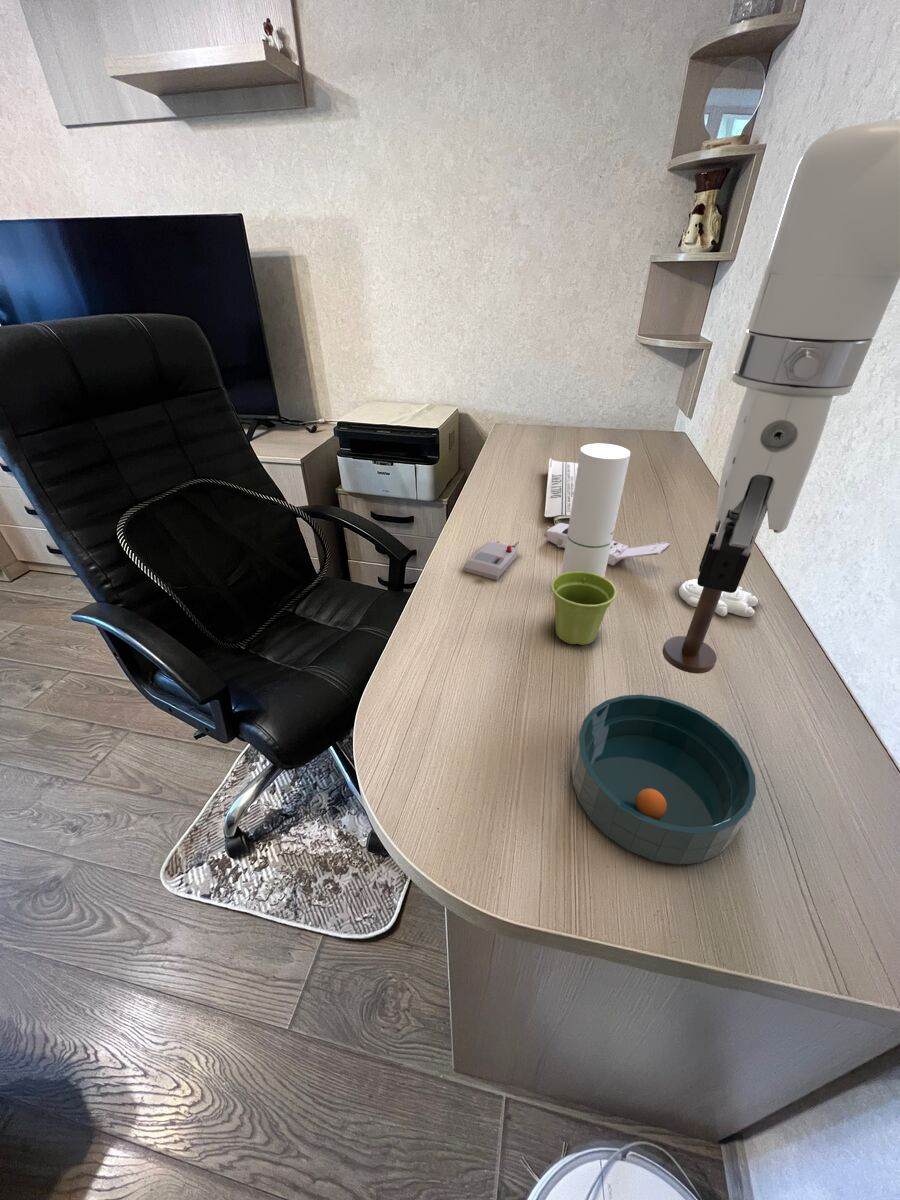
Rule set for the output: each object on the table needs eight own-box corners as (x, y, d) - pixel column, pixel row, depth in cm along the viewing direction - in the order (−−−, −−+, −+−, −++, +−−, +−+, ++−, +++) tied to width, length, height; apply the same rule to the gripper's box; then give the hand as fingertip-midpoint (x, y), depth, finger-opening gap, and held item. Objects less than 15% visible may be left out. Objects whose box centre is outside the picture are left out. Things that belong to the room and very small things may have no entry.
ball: (664, 806, 53) (671, 789, 51) (661, 830, 51) (668, 813, 49) (634, 795, 54) (641, 778, 52) (630, 818, 52) (637, 801, 50)
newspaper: (602, 530, 108) (605, 515, 106) (543, 526, 109) (545, 511, 107) (588, 472, 136) (590, 459, 134) (542, 469, 138) (543, 457, 136)
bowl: (735, 758, 59) (752, 723, 56) (736, 898, 46) (759, 864, 43) (588, 711, 65) (596, 677, 61) (554, 824, 52) (561, 789, 49)
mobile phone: (660, 553, 87) (538, 512, 100) (651, 582, 90) (534, 539, 104) (672, 542, 91) (553, 504, 104) (664, 570, 94) (549, 529, 108)
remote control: (459, 576, 92) (460, 561, 90) (494, 540, 103) (495, 527, 102) (493, 585, 90) (493, 570, 88) (524, 548, 101) (525, 534, 99)
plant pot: (532, 631, 79) (537, 585, 74) (570, 608, 84) (578, 564, 79) (580, 661, 73) (589, 613, 68) (618, 636, 78) (629, 589, 73)
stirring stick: (715, 649, 52) (767, 520, 44) (713, 680, 48) (770, 545, 40) (665, 636, 54) (705, 509, 46) (659, 664, 50) (702, 532, 42)
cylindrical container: (605, 588, 89) (636, 448, 75) (592, 608, 84) (622, 462, 70) (567, 577, 92) (589, 440, 78) (552, 595, 87) (573, 453, 73)
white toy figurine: (747, 626, 80) (754, 611, 78) (672, 600, 86) (676, 585, 84) (759, 602, 86) (766, 587, 84) (687, 578, 92) (692, 564, 90)
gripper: (882, 390, 28) (764, 642, 39) (842, 351, 40) (759, 552, 50) (736, 378, 31) (662, 616, 41) (738, 344, 43) (680, 537, 53)
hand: (716, 580), depth 46 cm, fingers closed on stirring stick
